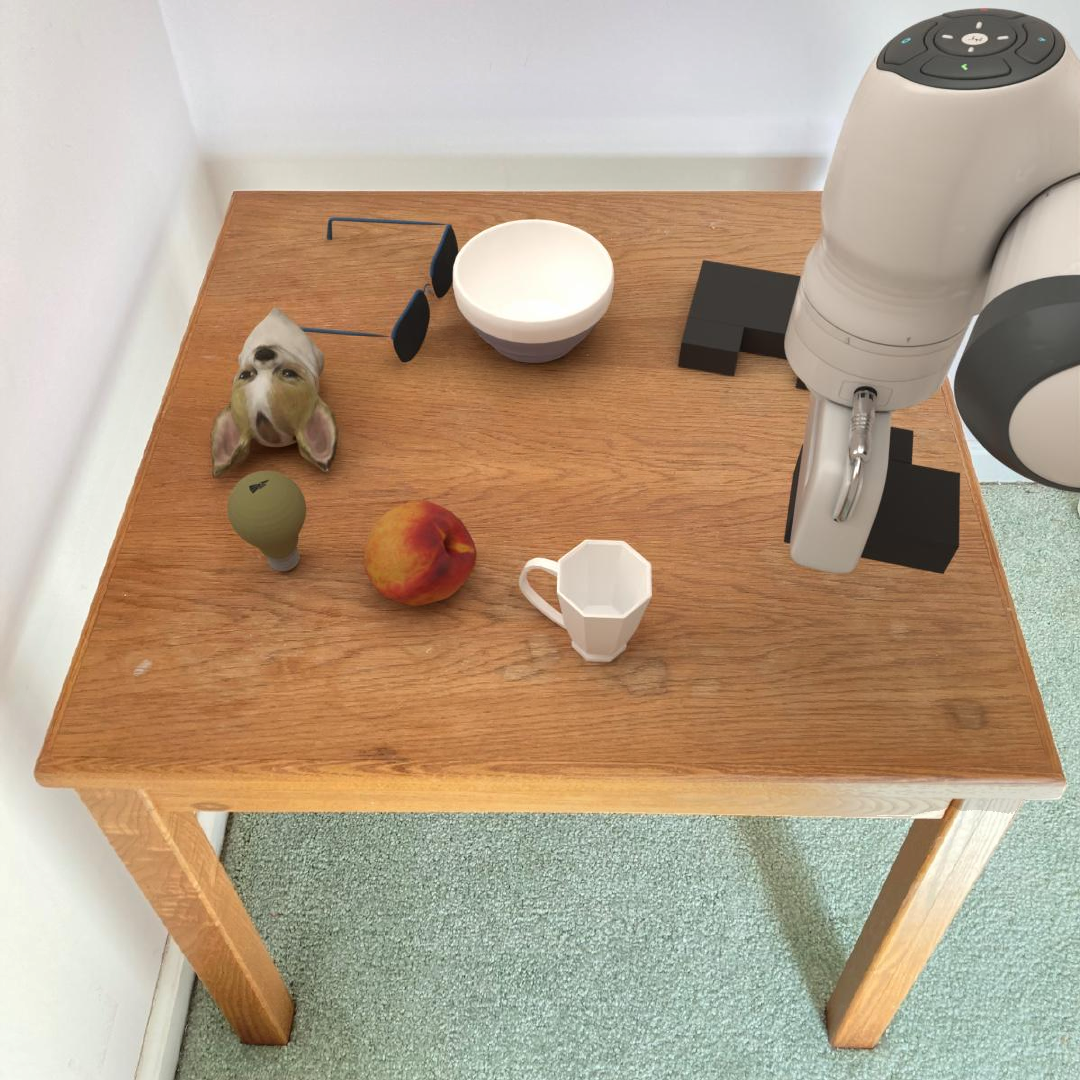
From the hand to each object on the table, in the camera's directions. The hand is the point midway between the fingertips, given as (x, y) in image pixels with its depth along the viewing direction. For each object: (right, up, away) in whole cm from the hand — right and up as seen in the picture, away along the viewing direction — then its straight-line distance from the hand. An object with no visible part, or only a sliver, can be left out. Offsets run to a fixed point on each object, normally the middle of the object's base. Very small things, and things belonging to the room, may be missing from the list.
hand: (815, 494), depth 66 cm
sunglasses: (-35, +20, +34) cm, 53 cm away
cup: (-15, -10, +12) cm, 21 cm away
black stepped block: (+4, -1, +2) cm, 4 cm away
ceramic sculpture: (-40, +7, +24) cm, 48 cm away
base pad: (+4, +16, +31) cm, 35 cm away
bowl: (-18, +17, +32) cm, 40 cm away
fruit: (-27, -6, +14) cm, 31 cm away
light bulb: (-38, -5, +16) cm, 41 cm away
